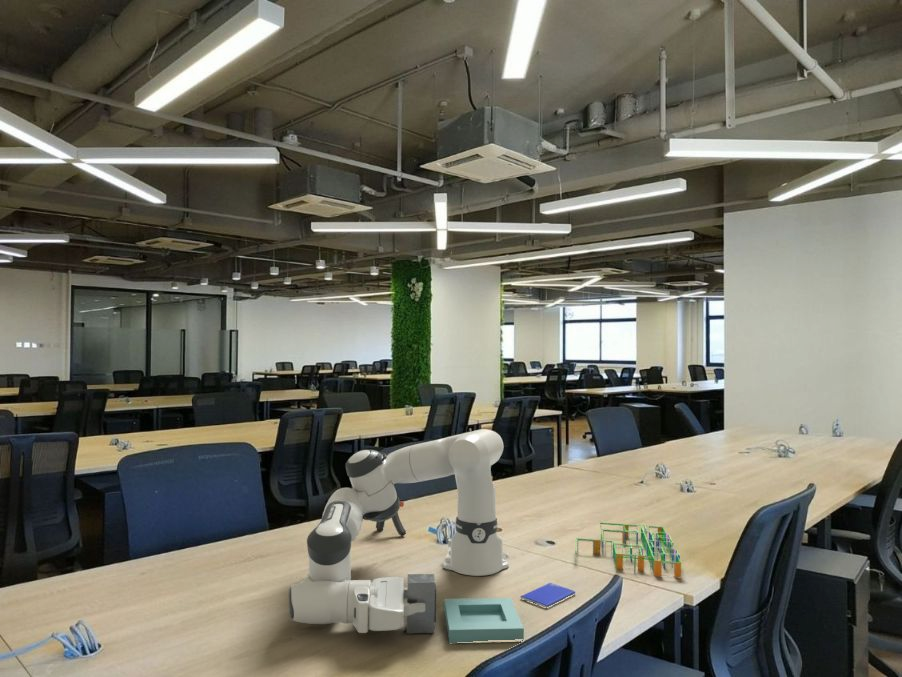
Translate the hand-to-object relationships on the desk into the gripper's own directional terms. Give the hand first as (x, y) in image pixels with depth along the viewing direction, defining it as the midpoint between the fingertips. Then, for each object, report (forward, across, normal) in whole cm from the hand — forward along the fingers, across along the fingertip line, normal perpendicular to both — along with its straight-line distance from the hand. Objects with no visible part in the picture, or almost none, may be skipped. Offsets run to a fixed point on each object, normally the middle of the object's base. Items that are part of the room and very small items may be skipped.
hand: (424, 600), depth 136 cm
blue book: (+32, -16, -7) cm, 37 cm away
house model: (+64, -48, -7) cm, 80 cm away
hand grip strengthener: (-9, -71, -7) cm, 72 cm away
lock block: (-1, 0, -6) cm, 6 cm away
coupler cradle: (+13, -1, -6) cm, 15 cm away
